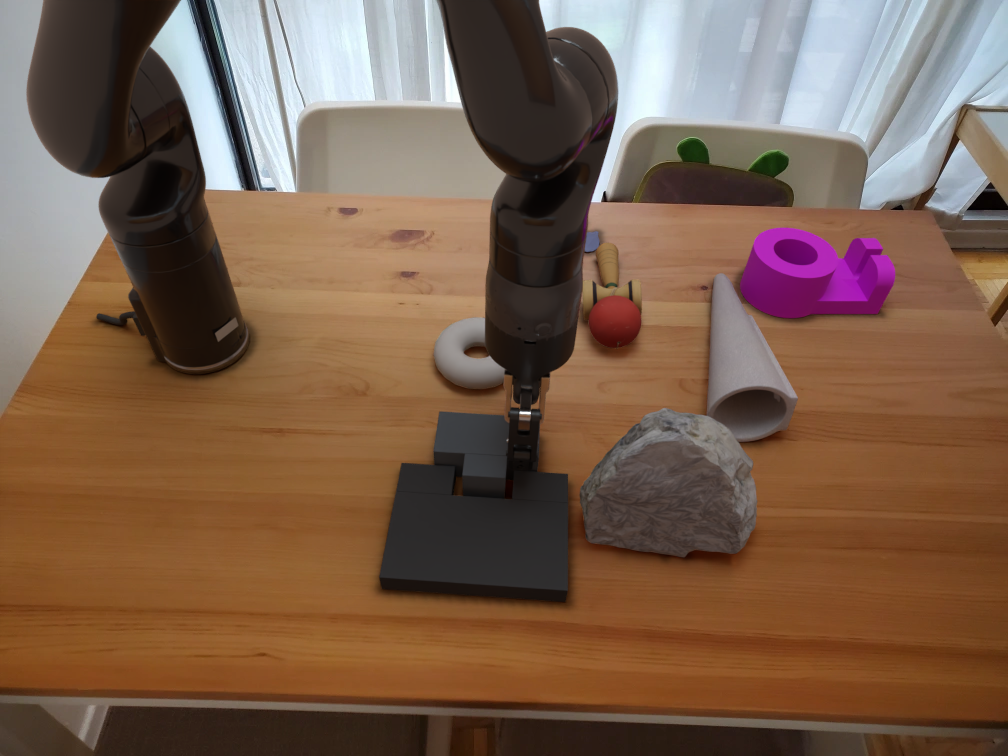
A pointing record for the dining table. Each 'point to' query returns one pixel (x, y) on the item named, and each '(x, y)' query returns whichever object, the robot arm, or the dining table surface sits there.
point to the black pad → (478, 537)
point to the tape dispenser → (815, 275)
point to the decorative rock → (672, 488)
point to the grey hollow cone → (744, 371)
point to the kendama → (612, 302)
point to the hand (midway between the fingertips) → (522, 430)
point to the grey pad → (476, 451)
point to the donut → (459, 364)
